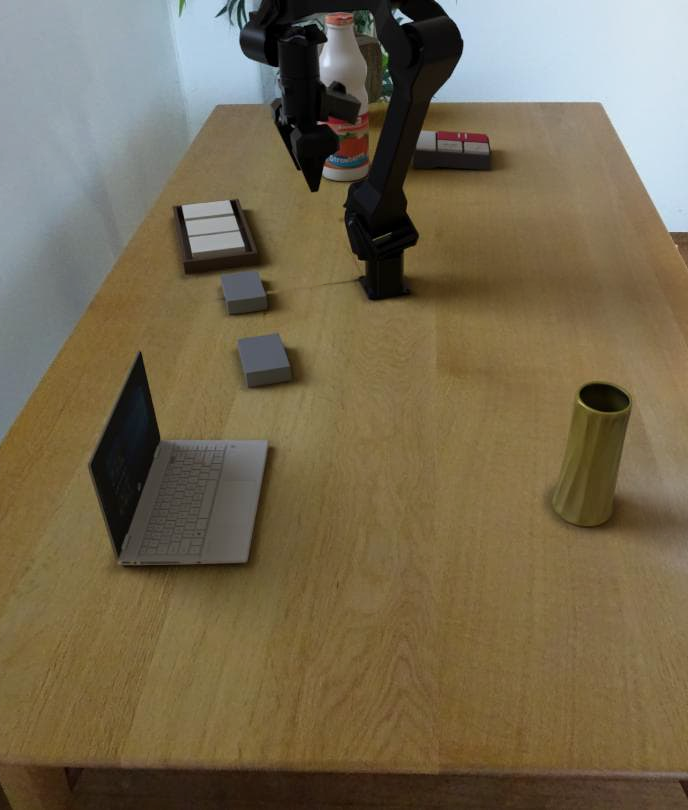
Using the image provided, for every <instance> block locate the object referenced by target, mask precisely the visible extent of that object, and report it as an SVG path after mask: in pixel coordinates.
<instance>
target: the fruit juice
mask: <svg viewBox="0 0 688 810" xmlns="http://www.w3.org/2000/svg"><path fill="white" fill-rule="evenodd" d="M325 25H326V27H327V32H326V33H327V35H326V36H327V38H328V42H327V43H324V47H323V50H322V53H321V55H320V57H319V64H320V80H321V81H322V82H323V83H324V84H325V85H326V87H329V86H330V85H331V83H332V82H333V81H337V82H341V83H343V84H344V85H345V87H346V92H347V94H348V93H350V94H351V95H352V96H355V97H356V98H357V99H358V100H359V101H360V102H361V103H362V105H361V108H360V111H359V114H358V118H357V121H356V124H355V125H352V124H349V123H348V122H346V121H343V120H339V119H335V118H332V117H329V122H320V121H319V122H317V125H319V124H328V125H329V126H330V127H331V128H332V129H333V130H334V131H335V132H336V133H337V135H338V136H339V140H340V150H339V151H337V152H336V153H335V154H334V155H331V156H330V157H329V158H327V159H326V161H325V165H324V168H323V173H322V177H324V178H326V179H328V180H330V181H331V180H332V181H336V182H352V181H359V180H362V179H364V178H365V177H366V176H368V175H369V172H370V127H369V126H370V125H369V104H368V95H367V92H366V89H365V80H366V76H367V65H366V61H365V59H364V57H363V56H362V54H361V52H360V50H359V47H358V44H357V41H356V38H355V35H354V32H353V26H354V25H355V16H353V14H352V13H349V12H346V13H344V12H333V13H331V12H330V13H329V14H327V15H325Z"/></svg>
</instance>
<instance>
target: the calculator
mask: <svg viewBox="0 0 688 810" xmlns="http://www.w3.org/2000/svg"><path fill="white" fill-rule="evenodd" d="M491 161H492V150H491V143H490V137H489V136H488V135H487V134H486V133H477V132H476V133H475V132H461V131H460V132H459V131H446V130H438V131H437V132H436V131H433V130H421V133H420V136H419V139H418V142H417V145H416V148H415V151H414V154H413V157H412V168H414V169H420V170H421V169H423V170H433V169H435V168H437V167H438V168H452V169H465V170H478V171H479V170H481V171H490V169H491V163H492V162H491Z"/></svg>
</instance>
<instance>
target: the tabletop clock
mask: <svg viewBox="0 0 688 810" xmlns="http://www.w3.org/2000/svg"><path fill="white" fill-rule="evenodd" d="M330 13H334V12H330ZM344 13H347V12H344ZM357 13H358V11H353V12H352V13H351V14H353V16H354V17H355V16H356V14H357ZM353 32H354V35H355V38H356V41H357V44H358V47H359V50H360V52H361V54H362V56H363V57H364V59H365V61H366V65H367V76H366V80H365V89H366V92H367V95H368V105H371V104H373V103H375V102H377V101H378V100H379V99H381V96H382V92H383V80H384V65H383V63H384V62H383V61H384V60H383V51H382V50H383V49H382V47H381V43H380V42H379V41H378V39H377V37H374V36H371V35H367V34H364V33H362V32H358V30H357V27H356V25H355V24H354V26H353ZM324 34H325V35H327V32H324ZM318 46H319V57H320V55H321V53H322V50H323V47H324V43H322V44H318Z"/></svg>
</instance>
